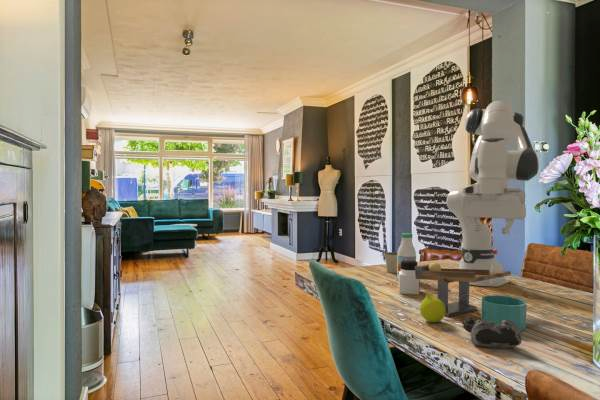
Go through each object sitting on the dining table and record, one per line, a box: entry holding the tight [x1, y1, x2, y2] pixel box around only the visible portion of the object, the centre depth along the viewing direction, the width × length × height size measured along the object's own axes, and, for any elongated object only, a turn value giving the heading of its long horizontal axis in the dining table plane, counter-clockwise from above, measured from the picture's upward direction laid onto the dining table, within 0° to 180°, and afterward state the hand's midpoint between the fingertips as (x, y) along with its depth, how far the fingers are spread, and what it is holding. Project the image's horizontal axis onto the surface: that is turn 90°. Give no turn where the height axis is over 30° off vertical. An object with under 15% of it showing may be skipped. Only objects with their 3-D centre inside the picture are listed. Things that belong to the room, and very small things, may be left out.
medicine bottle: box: [398, 260, 420, 295], centre depth 153 cm, size 7×7×12 cm
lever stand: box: [436, 280, 478, 318], centre depth 129 cm, size 14×7×10 cm, turn 123°
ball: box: [429, 262, 442, 271], centre depth 135 cm, size 4×4×4 cm
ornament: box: [419, 290, 446, 323], centre depth 118 cm, size 7×7×10 cm
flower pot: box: [383, 251, 398, 274], centre depth 190 cm, size 9×9×9 cm
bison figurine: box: [461, 316, 523, 349], centre depth 102 cm, size 12×7×10 cm
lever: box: [415, 263, 512, 284], centre depth 133 cm, size 19×22×5 cm
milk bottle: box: [396, 232, 417, 282], centre depth 172 cm, size 8×8×20 cm
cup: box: [480, 294, 527, 332], centre depth 116 cm, size 11×11×7 cm
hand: (491, 232), depth 129 cm, fingers open, 8 cm apart
